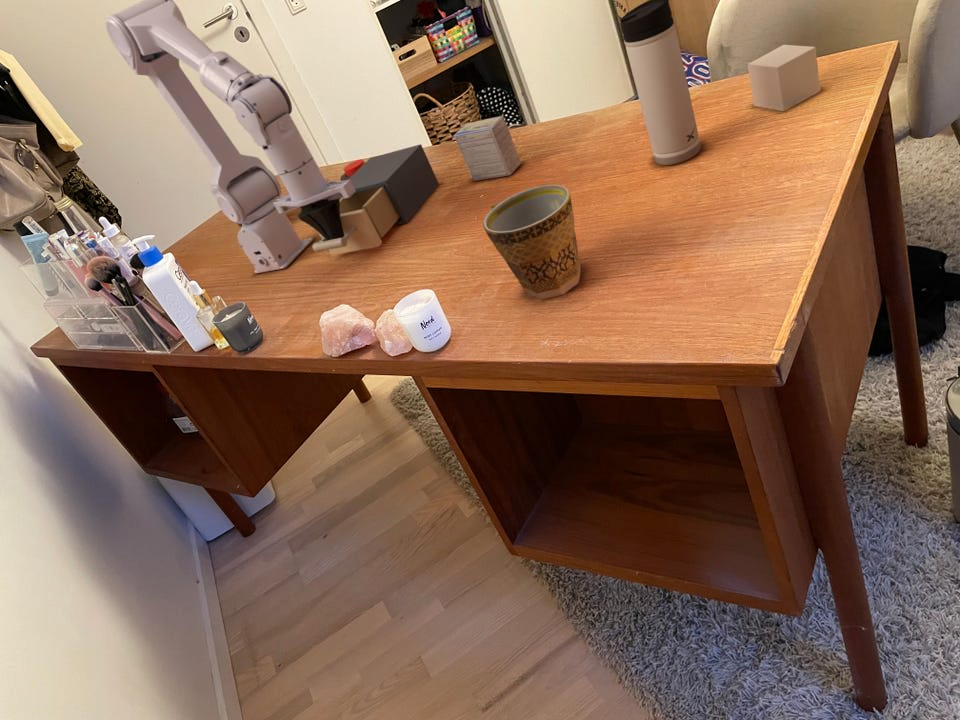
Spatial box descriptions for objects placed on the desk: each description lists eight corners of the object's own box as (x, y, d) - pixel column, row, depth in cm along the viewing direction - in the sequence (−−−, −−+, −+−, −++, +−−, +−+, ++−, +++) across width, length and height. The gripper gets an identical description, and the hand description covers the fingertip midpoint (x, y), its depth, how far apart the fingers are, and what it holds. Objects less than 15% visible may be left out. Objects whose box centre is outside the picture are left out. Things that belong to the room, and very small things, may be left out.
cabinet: (407, 223, 114) (386, 180, 110) (355, 233, 120) (333, 193, 116) (439, 184, 123) (421, 143, 119) (389, 196, 129) (370, 157, 125)
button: (360, 175, 136) (356, 167, 135) (343, 179, 138) (339, 171, 137) (370, 165, 139) (366, 157, 138) (354, 169, 141) (350, 161, 140)
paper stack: (522, 163, 115) (504, 114, 110) (510, 176, 112) (491, 127, 108) (485, 169, 120) (466, 122, 115) (472, 182, 117) (452, 134, 113)
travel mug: (709, 152, 91) (676, -4, 80) (660, 170, 92) (621, 19, 82) (697, 138, 96) (665, -12, 85) (651, 155, 97) (613, 10, 87)
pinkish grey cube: (789, 87, 98) (783, 44, 94) (820, 91, 93) (815, 46, 89) (754, 106, 97) (747, 64, 94) (783, 111, 92) (777, 67, 89)
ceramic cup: (613, 268, 77) (587, 190, 72) (547, 317, 75) (515, 239, 69) (546, 247, 88) (519, 177, 82) (486, 289, 85) (454, 220, 80)
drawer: (364, 263, 105) (345, 229, 102) (315, 272, 110) (295, 239, 107) (412, 207, 116) (396, 174, 113) (366, 217, 122) (349, 186, 118)
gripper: (345, 142, 100) (387, 223, 107) (275, 162, 107) (318, 236, 114) (320, 164, 95) (365, 247, 102) (249, 184, 102) (296, 260, 110)
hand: (339, 243), depth 108 cm, fingers closed
